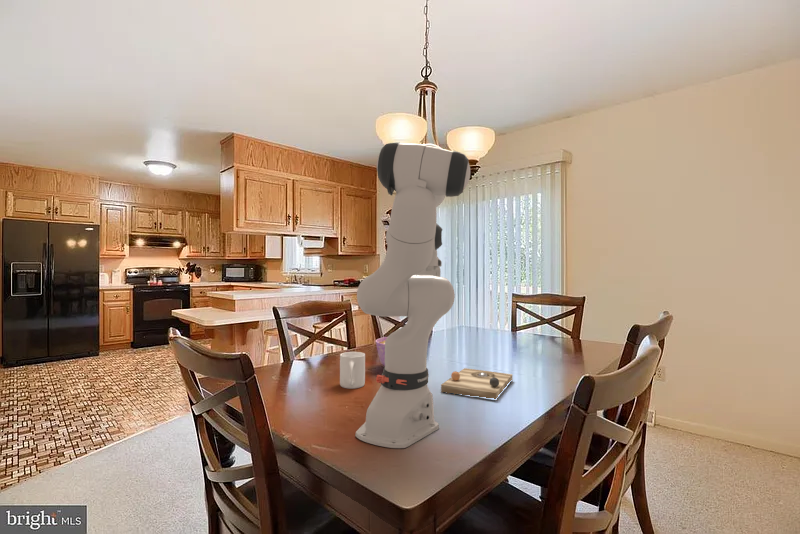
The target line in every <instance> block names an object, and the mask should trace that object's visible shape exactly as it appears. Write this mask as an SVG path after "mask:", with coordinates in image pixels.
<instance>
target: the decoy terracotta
mask: <svg viewBox="0 0 800 534" xmlns="http://www.w3.org/2000/svg"><path fill="white" fill-rule="evenodd" d="M458 372H459V371H457V370H456V371H453V372H452V373H451V374H450V375H451V376H450V378H451V377H452V379H453V380H459V378H460V374H459V373H458Z"/></svg>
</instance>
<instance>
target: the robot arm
mask: <svg viewBox="0 0 800 534" xmlns="http://www.w3.org/2000/svg"><path fill="white" fill-rule="evenodd" d="M376 172H377V178H378V180H379V182H380V183H381V185H382V187H383V188H385V189H386V191H387V193H388V195H390V196H393V194H394V191H395V197H394V199H393V203H392V207H391V212H390V217H389V224H388V227H387V229H386V233H385V241H386V246H387V248H386V254H385V257H384V259H383V261H382V263H381V264H380V266H378V268H377V269H376V270H375V271H373V272H372V273H371V274H369V275H367V276H365V277H364V278H363V279H362V280H361V282H360V283H359V285H358V287H357V290H356V301H357V303H358V306H359V308H360V310H361V311H362V312H363V313H364V314H367V315H371V316H374V317H375V316H377V317H385V318H386V317H387V318H388V317H406V318H407V322H406V324H404V325H403V326H402V327H401V328H399V329H397V330H394V331H393V332H392V333H390V334H389V335H388V336H386V337H387V339H386V341H385V366H384V367H383V371H382V373H381V374H377V375H376V377H375V378H376V379H375V381H376V383H377V384H380V387H379V388H378V390H377V392H376V394H375V395H374V396H373V399H372V400H371V402H370V404H369V406H368V408H367V409H366V415H365V422H364V423H363V424H362V425H360V427H359V428H358V429H357V430H356V431H355V437H356V438H357V439H358V440H360V441H361V442H365V443H367V444H371V445H375V446H379V447H385V448H391V449H405V448H408V447H410V446H411V445H413V444H415V443H416V442H418V441H420V440H422V439H423V438H425V437H427V436H429V435H430V434H433V433H434V432H435V431H437V430H439V429H440V425H439V424H440V423H438V422H437V421H436V420H435V411H434V408H435V407H434V397H433V393H432V392H431V390H430V388H429V387H428V383H429V377H430V376H429V369H428V368H427V357H428V346H429V345H428V344H429V339H430V336H431V333H432V331H433V329H434V327H435V326H436V324H437V323H438V321H440V319H441V318H442V317H443V316H445V315H446V314H448V313H449V312H450V310H451V309H452V307H453V306H454V302H455V295H456V294H455V289H454V286H453V284H452V283H451V281H450V280H449V279H448V278H446V277H443V276H441V267H442V260H441V259H440V258H439V257H438V251H437V250H438V249H440V248H441V247H442V245H443V240H442V238H443V237H442V236H443V233H442V231H443V228H442V227H441V226H440V225H439V224H438V223H437V207H439V206H440V205H441V204H443V201H444V199H445V198H451V197H458V196H460V195H461V194H462V193H464V190H465V189H466V187H467V186H468V184H469V182H470V178H471V166H470V163H469V158H468V157H467V156H466V154H464V153H462V152H460V151H457V150H448V149H445V148H444V149H443V148H442V147H441V146H439V145H437V144H433V143H425V144H421V143H420V144H419V143H401V142H400V141H399V142H396V141H395V142H389V143H386V144H384V146H383V147H382V148H381V149H380V152H379V154H378V156H377V161H376Z"/></svg>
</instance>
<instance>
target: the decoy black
mask: <svg viewBox="0 0 800 534" xmlns="http://www.w3.org/2000/svg"><path fill="white" fill-rule="evenodd" d="M490 385H491V386H492V387H497V386H498V385H499V380H498V379H497V378H495V377H493V378H491V379H490Z"/></svg>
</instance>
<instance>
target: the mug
mask: <svg viewBox="0 0 800 534" xmlns="http://www.w3.org/2000/svg"><path fill="white" fill-rule="evenodd" d="M365 382H366V353H365V352H361V351H348V352H346V351H345V352H343V353H340V355H339V385H340V387H342V388H343V389H353V390H354V389H359V388H363V387H364V386H365V385H366V384H365Z"/></svg>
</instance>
